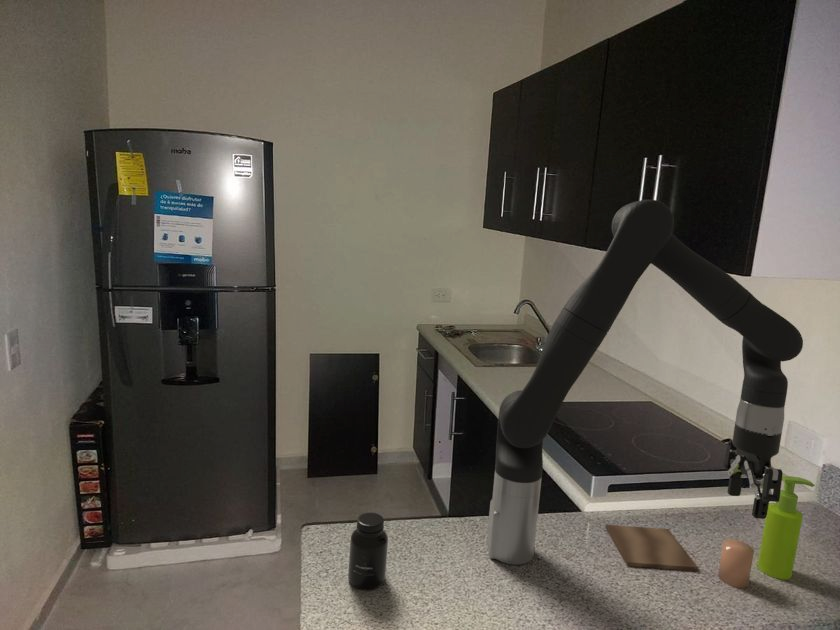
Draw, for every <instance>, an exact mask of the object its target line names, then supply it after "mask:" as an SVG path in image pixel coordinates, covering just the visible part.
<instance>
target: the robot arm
mask: <svg viewBox="0 0 840 630" xmlns="http://www.w3.org/2000/svg"><path fill="white" fill-rule="evenodd" d="M674 225H675V219H674V215H673V212H672V210H671V209H670V207H669V206H668V205H667V204H666V203H664V202H662V201H659V200H656V199H642V200H637V201H632V202H630V203H628V204H625V205H623V206H622V207H621V208H620V209H619V210H617V212H616V213H615V214H614V216H613V218H612V221H611V232H612V235H613V238H612V240H611V243H610V244H609V246H608V248H607V250H606V252H605V254H604V256H603V257H602V259H601V260H600V262H599V263H598V265H597V266H596V267H595V269H594V270H593V271H592V272H591V273H590V274H589V275H588V276H587V278H585V279H584V281H583V282H582V283H581V284H580V285H579V286H578V287H577V288H576V289H575V291H574V292H573V293H572V295H571V296H570V297H568V299H567V301H566V303H565V304H564V305H563V308H562V309H561V311H560V312H559V314H558V315H557V317H556V319H555V320H554V322H553V324H552V326H551V328H550V330H549V332H548V334H547V337H546V339H545V342H544V345H543V347H542V350H541V353H540V356H539V359H538V362H537V365H536V367H535V369H534V371H533V373H532V375H531V377H530V378H529V380H528V382H526V384H525V386H524V387H523V389H522V390H516V391H515V390H514V391H512V392H511V393H509V394H508V395H507V396H505V397H504V399H502V402H501V403H500V406H499V410H498V411H499V412H498V417H497V431H496V433H497V434H496V444H495V467H494V478H493V488H492V498H491V500H490V502H489V503H490V504H489V512H488V525H487V536H486V544H487V550H488V556H489V558H490V559H492V560H493V559H494V560H497V561H499V562H501V563H504V564H508V565H513V566H514V565H524V564H528V563H529V562H531V561H532V560H533V559H534V554H535V549H536V548H535V547H536V546H535V545H536V537H537V536H536V535H537V527H538V526H537V525H538V524H537V523H538V516H539V506H540V505H539V504H540V496H541V486H542V479H543V478H542V476H543V469H544V468H543V467H544V464H543V463H544V461H543V445H544V444H543V443H544V439H545V438H546V437H547V436H548V434H549V432H550V429H551V428H552V426H553V423H554V421H555V420H556V419H555V418H556V417H557V415H558V413H559V411H560V409H561V407H562V405H563V403H564V401H565V399H566V397H567V395H568V394H569V392H570V390H571V389H572V388H573V385H574V384H575V383H576V382H577V380H578V378H579V377H580V376H581V374H582V373H583V371H584V370H585V368H586V367H587V365H588V364H589V362H590V361H591V359H592V357H593V356H594V354H595V353H596V352H597V351H598V349H599V348H600V346H601V344H602V343H603V341H604V339H605V338H606V336H607V334H608V333H609V331H610V330H611V328H612V326H613V324H614V322H615V321H616V319H617V317H618V316H619V314H620V312H621V311H622V309H623V307H624V305H625V304H626V302H627V300H628V299H629V296H630V295H631V293H632V291H633V289H634V288H635V285H636V284H637V283H638V281H639V279H640V278H641V276H642V275H644V273H645V271H646V270H647V269H648V267H649V266H650V265H652V266H654V267H655V268H657V269H659V270H660V271H661V272H662V273H664V275H666V276H667V277H669V278H670V279H672V280H673V281H674V283H676V284H677V285H678V286H680V288H682V289H683V290H684V291H685V292H686V293H687V294H688V295H690V296H691V298H692V299H694V300H695V301H696V302H697V303H699V304H700V305H701V306H702V307H703V308H704V309H706V311H708V312H709V313H710V314H711V315H712V316H713V317H715V318H716V319H717V320H718V321H719V322H721V323H722V324H723V325H725V326H727V327H728V328H730V329H732V330H734V331H735V332H737V333H738V334H739V335H741V336H742V341H741V349H742V350H741V352H742V353H741V354H742V368H743V380H742V386H741V390H740V391H741V392H740V399H739V403H738V406H737V410H736V414H735V423H734V427H733V435H732V440H729V441H727V445H726V451H725V456H724V461H723V468H724V470H727V474H728V477H729V479H728V486H727V494H728V495H729V496H731V497H739V496H741V494H742V493H741V492H742V487H743V480H744V479H743V477H744V476H745V477H746V478H748V483H749V485H750V486H751V487H752V488H753V492H754V499H753V506H752V510H751V511H752V512H751V516H753V518H754V519H758V520H759V519H761V520H763V519H764V520H765V518H766V516H767V511H768V505H769V504H770V502H773V503H776V502H779V499H780V491H781V490H782V489H781V488H782V482H783V480H782V476H784V474H783V470H782V469H781V468H775V467H773V466H772V458H773V457H775V456H777V455H778V454H779V453H780V446H781V440H782V435H783V428H784V422H785V408H786V407H785V405H786V400H787V394H788V387H789V384H788V383H789V382H788V381H789V380H788V378H787V375H785V373H784V372H783V370H782V367H781V366H782V365H781V364H782V363H781V362H787V361H792V360H793V359H795V358H797V356H799V355H800V354H801V352H802V350H803V346H804V340H803V336H802V334H801V332H800V330H799V329H798V328H797V327H796V326H795V325H794V324H792V323H791V322H790V321H789V320H787V319H786V318H785V317H783V316H782V315H781V314H779V313H777V312H776V311H774V310H773V309H771V308H770V307H768V306H767V305H766V304H764V303H762V302H761V301H760V300H758V299H757V298H756V297H755V296H754V295H753V293H751V292H750V291H749V290H748V289H746V287H744V286H743V285H742V284H740V282H738V281H737V280H736V279H735V278H734V277H732V276H731V275H730V274H728V273H727V272H725V271H724V270H723V269H721V268H720V267H718V266H717V265H715V264H713V263H712V262H710V261H708V260H707V259H706V258H704V257H703V256H701V255H700V254H697V253H696V252H695V251H693V250H692V249H691V248H689V247H688V246H687V245H686V244H685V243H683V242H682V241H681V240H680V239H679V238H678V237H677V236H676V235H675V234H674V233H673V232H674V227H675V226H674ZM731 460H733V462H732V463H731ZM761 480H762V481H761ZM761 488H762V490H761ZM772 490H773V492H772Z"/></svg>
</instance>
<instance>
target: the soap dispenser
mask: <svg viewBox="0 0 840 630" xmlns="http://www.w3.org/2000/svg"><path fill="white" fill-rule="evenodd" d="M782 482H783V483H784V485H783V489H781V491H780V499H779V502H773V503H769V505H768V511H767V516H766V518H765V519H764V526H763V531H762V536H761V542H760V548H759V554H758V561H757V568H758V567H759V568H758V569H759V570H760V571H761V572H762V573H764V574H766V575H768V576H769V577H772V578H775V579H778V580H789V579H791V578H792V576H793V571H794V565H795V561H796V555H797V550H798V544H799V538H800V533H801V528H802V527H801V526H802V522H803V518H804V517H803V513H802V512H801V511H799V510H798V509H797V506H798V500H799V499H798V498H799V497H798V496H799V495H798V494H796V493H795V486H796V484H797V485H804V486H808V487H812V488H813V487H815V486H816V485H815V484H814V483H813V482H812V481H811V480H809V479H805V478H803V477H798V476H790V475H788V476H787V475H782Z"/></svg>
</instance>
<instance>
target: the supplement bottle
mask: <svg viewBox="0 0 840 630" xmlns="http://www.w3.org/2000/svg"><path fill="white" fill-rule="evenodd" d="M384 521H385V520H384V517H383V516H382V515H381V514H379V513H376V512H365V513H362V514H360V515H359V516H358V517H357V520H356V522H357V523H356V529H354V530H353V532H352V533H351V535H350V539H349V540H350V541H349V543H350V544H349V558H348V573H347V575H348V577H347V578H348V581H349V583H350V584H351V585H352V586H353V587H354V588H355V589H359V590H363V591H370V590H374V589H375V590H376V589H378V588H379V587H381V586H382V585H383V584H384V582H385V580H386V571H387V562H388V561H387V559H388V557H387V556H388V547H389V546H388V544H389V536H388V533H387V532H386V530H384V528H385V525H384V524H385V522H384Z"/></svg>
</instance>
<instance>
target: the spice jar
mask: <svg viewBox="0 0 840 630" xmlns="http://www.w3.org/2000/svg"><path fill="white" fill-rule="evenodd" d="M754 554H755V550H754V548H753V547H752V546H751V545H750V544H748V543H745V542H744V541H741V540H739V539H732V538H728V539H724V540H723V541H722V548H721V555H720V560H719V567H718V574H717V577H718V578H719V579H720V581H721V582H722V583H724V584H725V585H727V586H731V587H732V588H737V589H745V588H746V589H747V588H748V587H749V582H750V577H751V572H752V565H753V561H754V560H753V559H754Z"/></svg>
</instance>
